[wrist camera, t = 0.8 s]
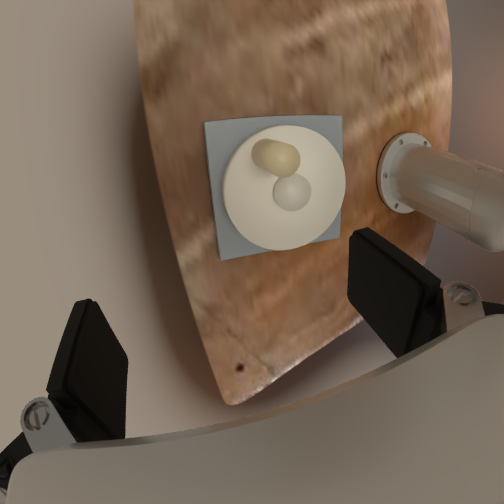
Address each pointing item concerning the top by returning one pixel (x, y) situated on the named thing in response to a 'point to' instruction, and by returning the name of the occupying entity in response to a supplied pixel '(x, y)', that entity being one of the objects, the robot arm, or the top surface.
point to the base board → (222, 147)
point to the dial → (283, 186)
